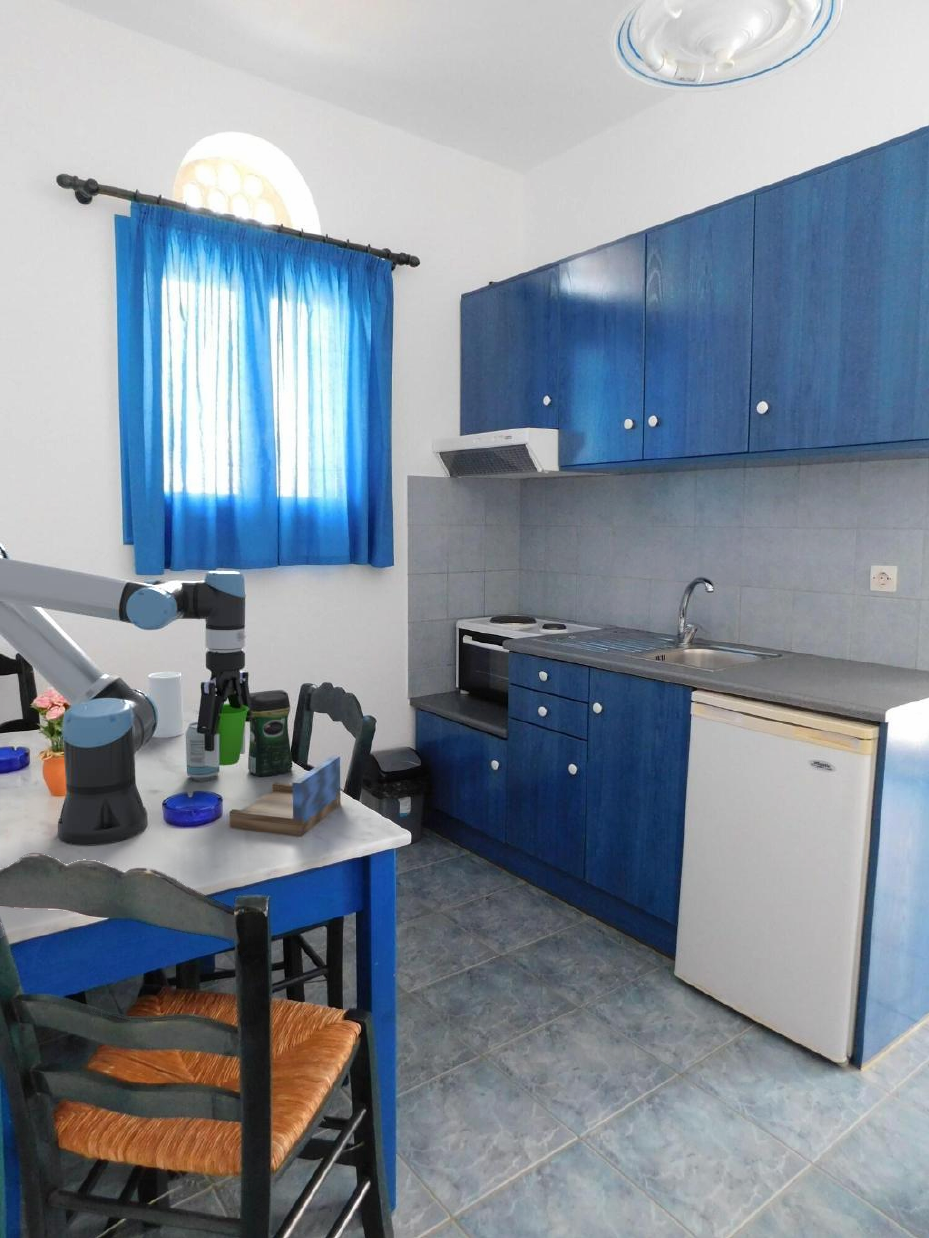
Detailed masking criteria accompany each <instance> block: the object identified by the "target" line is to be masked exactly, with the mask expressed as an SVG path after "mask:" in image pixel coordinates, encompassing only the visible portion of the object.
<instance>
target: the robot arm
mask: <svg viewBox="0 0 929 1238" xmlns="http://www.w3.org/2000/svg"><path fill="white" fill-rule="evenodd" d="M204 577H205V578H204V580H200V581H198V580H196V581H195V580H194V581H191V580H168V579H167V580H165V579H153V580H152V579H151V580H149V579H148V580H145V581H143V582H138V581H131V580H127V579H121V578H117V577H116V578H115V577H110V576H105V575H99V574H94V573H88V572H82V571H77V570H71V569H65V568H62V567H61V568H59V567H56V566H55V567H54V566H51V565H44V564H37V563H31V562H27V561H20V560H15V559H11V558H10V557H9V555H8V552H7V550H6V549H5V547H4V546H3V544H2V543H0V636H1V637H3V639H4V640H6V642H8V644H9V645H10V646H11V647H12V648H13V649H14V650H15V651H16V652H17V653H18V654H19V655H20V656H21V657H23V659H24V660H25V661H26V662H27V663H28V664H29V665H30V666H31V667H32V668H33V669H34V670H35V671H36V672H37V673H38V674H39V675H40V676H42V677H41V678H43V679H44V680H46V682H47V683H48V684H49V685H50V686H51V687H52V688H53V689H54V690H55V692H57V693H58V694H59V695H60V696H61V697H62V698H63V699H64V700H65V701H66V702H67V703H68V704H69V705H70V707H69V708H68V709H67V710H66V711H65V712H64V714H63V717H62V728H61V734H62V735H61V736H62V741H63V755H64V756H63V758H64V770H65V771H64V772H65V774H64V775H65V789H66V790H65V791H66V792H65V798H64V800H63V804H62V806H61V807H62V808H61V811H60V815H59V819H58V821H57V827H56V828H57V838H58V839H59V841H61V842H63V843H65V844H69V845H73V846H74V845H75V846H96V845H104V844H110V843H115V842H119V841H123V840H126V839H129V838H132V837H135V836H136V835H138V834H140V833H141V832H143V831H145V829H147V827H148V823H149V822H148V811H147V809H146V807H145V806H144V803H143V801H142V798H141V795H140V792H139V789H138V787H137V780H136V761H135V760H136V759H135V757H136V756H135V754H136V753H137V752H138V751H139V750H140V749H141V748H142V747H144V746H145V745H146V744H147V743H148V742H150V740H151V739H152V738H153V737H152V736H153V734H154V732H155V730H156V728H157V725H158V710H157V707H156V705H155V703H154V701H153V700H152V699H151V698H150V697H149V694H147V693H145V692H144V691H142V690H139V689H136V688H135V689H134V688H131V687H130V685H129V684H127V683H126V681H124V680H123V678H121V677H120V675H109V674H106V673H105V672H104V671H103V669H101V668H100V666H98V665H97V664H96V662H94V660H93V659H92V658H91V657H90V656H89V655H88V654H87V653H86V652H85V651H84V650H83V649H82V648H81V647H80V646H79V645H78V644H77V643H76V642H75V641H74V640H73V638H71V637H70V636H69V635H68V634H67V633H66V632H65V631H64V630H63V629H62V628H61V627H60V626H59V625H58V624H57V623H56V622H55V621H54V619H52V617H51V616H49V614H47V612H46V611H45V610H44V609H46V610H53V611H58V612H62V613H63V612H64V613H71V614H76V615H81V616H88V617H93V618H100V619H105V620H112V621H116V622H123V623H127V624H132V625H134V626H136V627H137V628H139V629H141V630H144V631H155V630H160V629H163V628H165V627H166V626H168V625H170V624H171V623H173V622H174V621H177V620H205V642H204V643H205V648H206V649H207V650H206V651H205V667H206V669H207V670H209V671H210V672H211V673H210V678H209V681H202V682H200V694H201V695H200V701H199V702H200V703H199V711H198V717H197V722H198V724H197V733H200V734H204V743H205V744H204V745H205V766H211V767H220V765H219V734H216V732H217V728H218V724H219V720H220V715H219V714H221V713H222V709H223V705H224V704H225V702H227V701H228V704H230V707H232V708H236V709H239V708H241V706H242V705H245V706H247V707H248V708H249V710H248V711H247V715H246V721H245V723H250V720H251V717H250V716H251V715H252V710H251V702H250V694H249V693H250V687H249V676H250V675H249V672H248V671H244V668H245V666H246V651H245V650H244V649H243V648H245V647H246V643H245V640H246V635H247V634H245V633H246V630H245V627H246V597H247V596H246V595H247V594H246V591H245V590H246V587H245V576H244V575H243V574H242V573H241V572H239V571H231V570H230V571H229V570H226V571H225V570H222V571H219V570H215V571H214V570H212V571H211V570H210V571H207V572H206V573H205V576H204ZM241 670H243V671H241ZM248 716H249V717H248ZM244 754H246V726H245V727H244V733H243V740H242V746H241V752H240V755H244Z"/></svg>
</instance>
